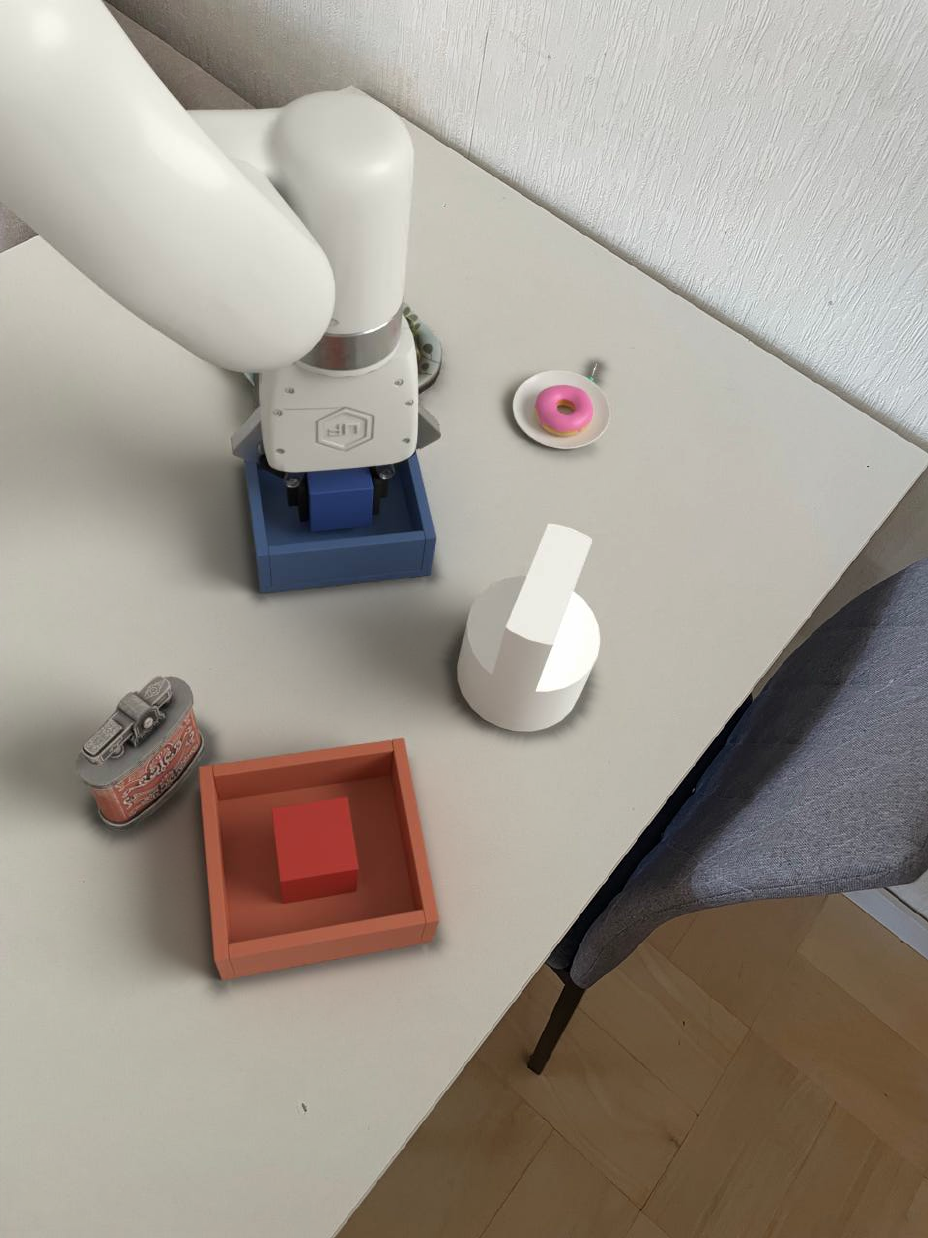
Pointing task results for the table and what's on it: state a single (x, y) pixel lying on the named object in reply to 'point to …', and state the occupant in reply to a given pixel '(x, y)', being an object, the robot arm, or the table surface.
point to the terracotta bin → (248, 868)
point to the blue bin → (340, 536)
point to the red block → (315, 850)
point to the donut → (561, 409)
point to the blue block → (340, 498)
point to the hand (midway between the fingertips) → (336, 501)
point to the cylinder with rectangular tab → (531, 640)
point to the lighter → (142, 752)
